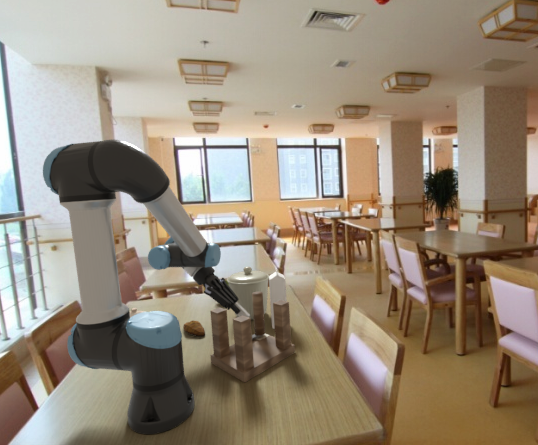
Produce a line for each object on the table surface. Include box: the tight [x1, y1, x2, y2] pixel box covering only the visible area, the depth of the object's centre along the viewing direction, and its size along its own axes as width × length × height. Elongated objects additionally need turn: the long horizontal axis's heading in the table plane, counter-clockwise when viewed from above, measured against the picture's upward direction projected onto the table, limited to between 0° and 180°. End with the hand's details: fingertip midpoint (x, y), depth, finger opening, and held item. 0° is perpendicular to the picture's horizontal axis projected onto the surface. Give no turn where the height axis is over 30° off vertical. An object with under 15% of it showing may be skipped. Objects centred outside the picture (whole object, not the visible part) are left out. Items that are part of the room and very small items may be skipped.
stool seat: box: [210, 300, 296, 383], centre depth 98 cm, size 21×16×16 cm
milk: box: [268, 268, 288, 330], centre depth 121 cm, size 6×6×22 cm
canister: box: [226, 266, 270, 321], centre depth 133 cm, size 18×18×21 cm
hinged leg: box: [252, 291, 266, 340], centre depth 105 cm, size 11×4×15 cm, turn 134°
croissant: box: [182, 320, 206, 338], centre depth 120 cm, size 14×7×5 cm, turn 45°
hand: (247, 318), depth 109 cm, fingers closed
